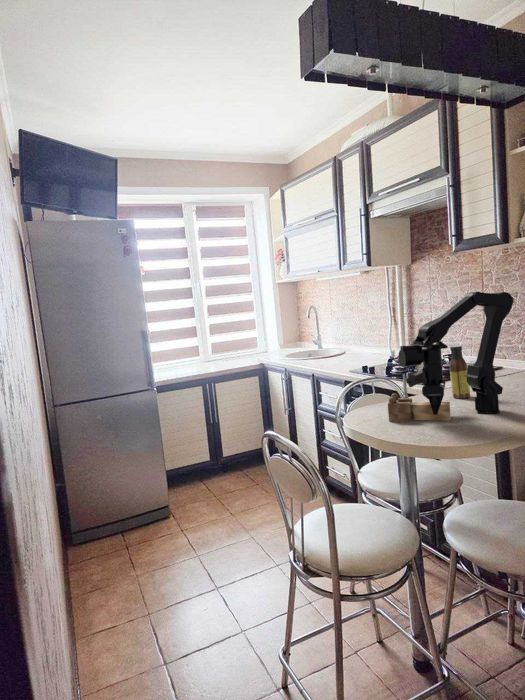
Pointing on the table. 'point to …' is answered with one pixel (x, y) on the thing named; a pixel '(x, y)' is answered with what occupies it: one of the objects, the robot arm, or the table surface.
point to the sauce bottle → (458, 374)
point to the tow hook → (404, 387)
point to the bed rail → (430, 411)
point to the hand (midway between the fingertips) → (436, 410)
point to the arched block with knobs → (399, 408)
